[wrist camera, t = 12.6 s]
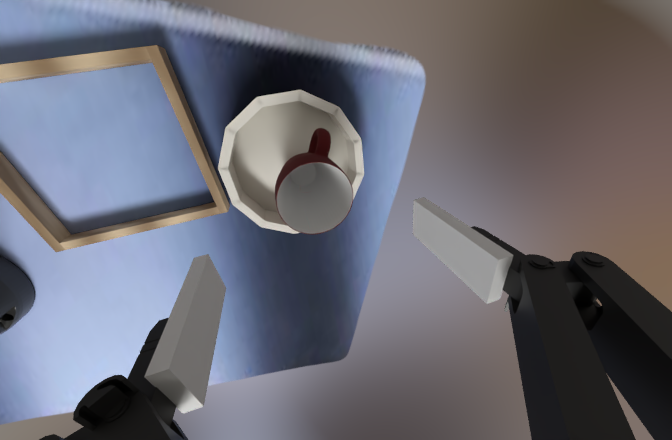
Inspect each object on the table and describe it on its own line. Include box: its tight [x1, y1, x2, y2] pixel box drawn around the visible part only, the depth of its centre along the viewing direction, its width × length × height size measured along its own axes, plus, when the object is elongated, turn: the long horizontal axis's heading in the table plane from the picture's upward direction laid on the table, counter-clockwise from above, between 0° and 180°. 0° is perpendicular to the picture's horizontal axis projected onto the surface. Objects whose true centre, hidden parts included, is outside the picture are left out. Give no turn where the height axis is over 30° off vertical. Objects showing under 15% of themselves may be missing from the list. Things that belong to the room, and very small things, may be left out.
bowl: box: [218, 90, 364, 234], centre depth 31 cm, size 17×17×4 cm
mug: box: [275, 128, 353, 234], centre depth 28 cm, size 11×8×10 cm
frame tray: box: [0, 45, 230, 252], centre depth 26 cm, size 20×18×2 cm
